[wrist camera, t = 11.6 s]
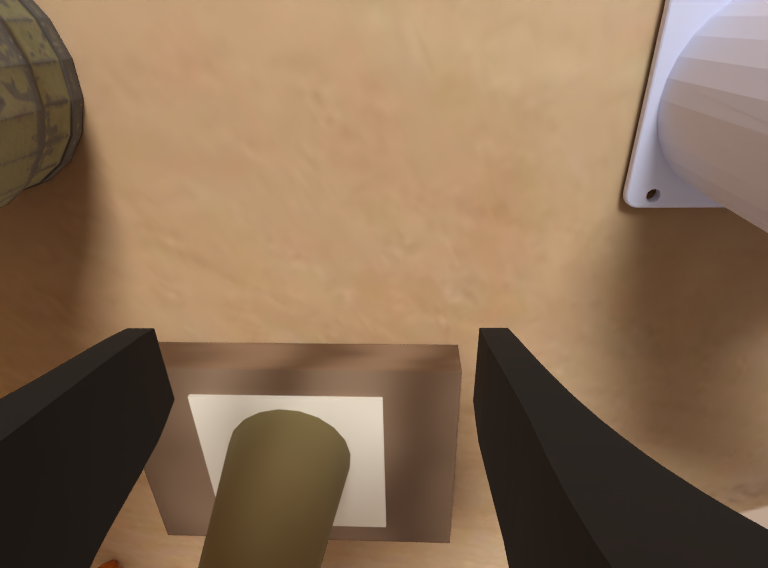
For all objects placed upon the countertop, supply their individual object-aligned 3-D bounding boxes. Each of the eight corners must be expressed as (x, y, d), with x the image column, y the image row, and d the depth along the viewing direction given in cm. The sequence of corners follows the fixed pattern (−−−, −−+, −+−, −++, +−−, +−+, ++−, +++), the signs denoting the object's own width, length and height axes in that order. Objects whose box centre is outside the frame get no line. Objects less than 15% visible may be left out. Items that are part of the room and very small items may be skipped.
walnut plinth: (457, 345, 23) (462, 374, 21) (447, 511, 29) (449, 546, 27) (128, 342, 24) (104, 370, 22) (182, 504, 30) (166, 538, 28)
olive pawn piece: (370, 481, 25) (346, 777, 15) (266, 507, 26) (183, 794, 16) (317, 394, 22) (246, 686, 12) (205, 428, 23) (63, 716, 14)
